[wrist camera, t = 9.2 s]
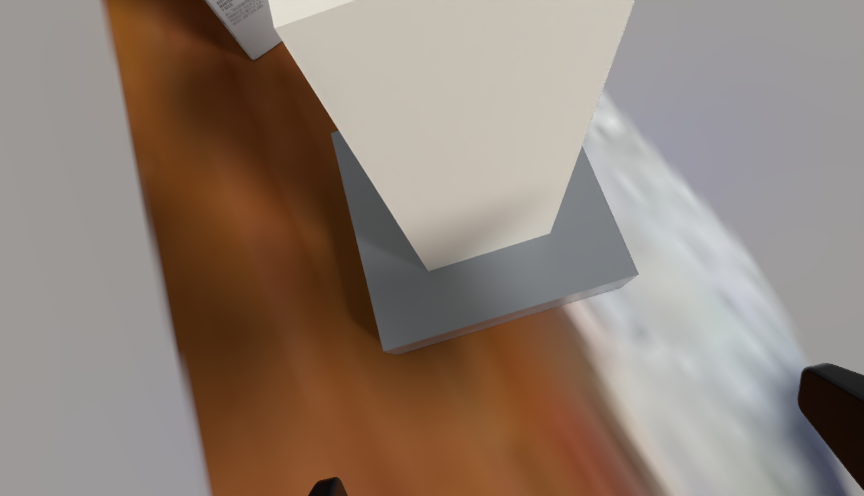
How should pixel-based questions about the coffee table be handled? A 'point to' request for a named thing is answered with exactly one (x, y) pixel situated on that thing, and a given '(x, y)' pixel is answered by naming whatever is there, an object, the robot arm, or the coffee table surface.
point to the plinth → (482, 264)
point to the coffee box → (248, 24)
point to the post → (459, 106)
